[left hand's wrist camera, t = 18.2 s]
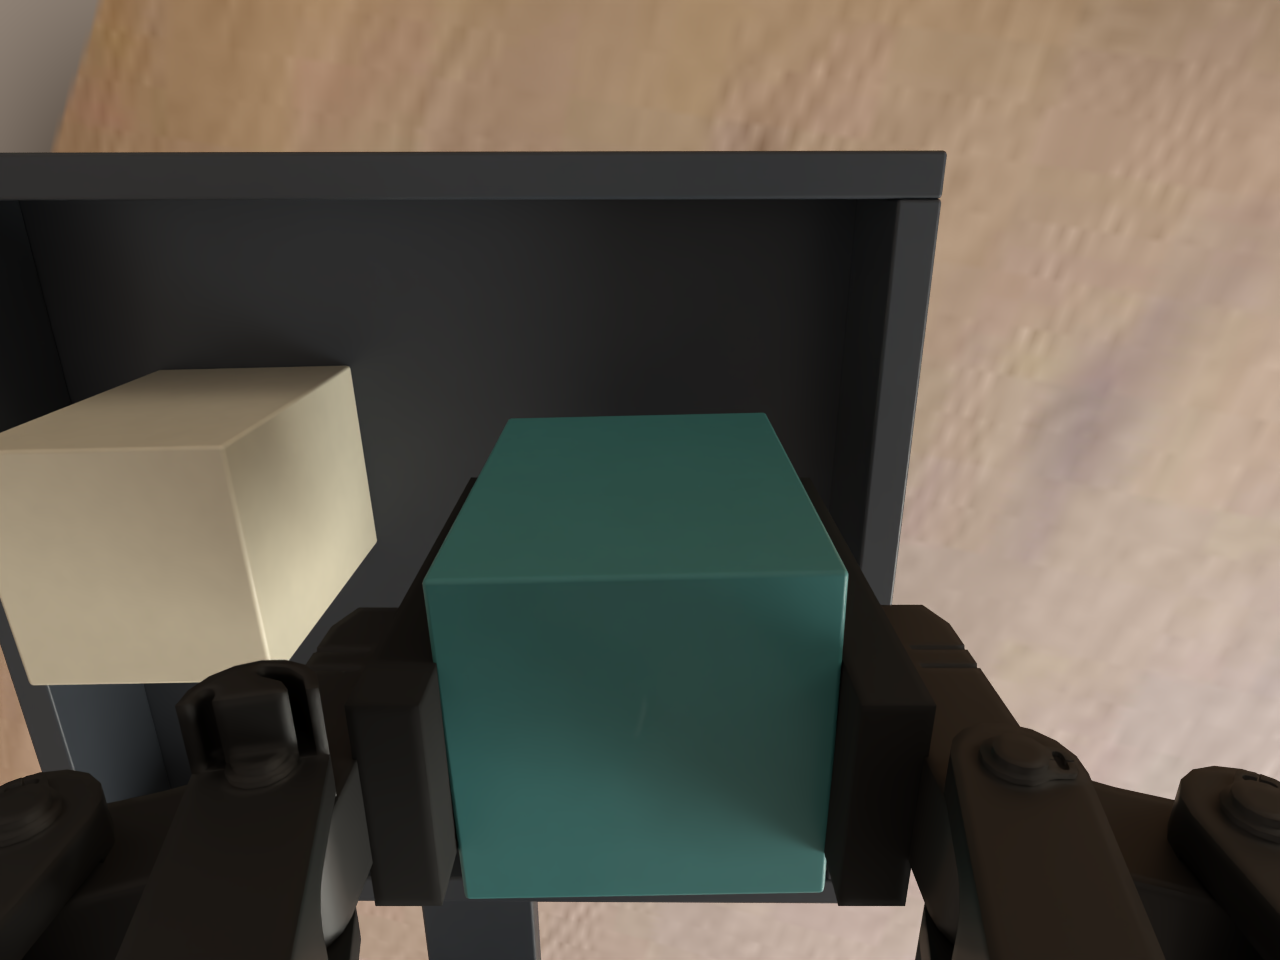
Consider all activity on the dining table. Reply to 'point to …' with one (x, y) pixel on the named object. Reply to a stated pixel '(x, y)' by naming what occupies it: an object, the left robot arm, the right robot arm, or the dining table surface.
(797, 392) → the tray
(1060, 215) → the dining table surface
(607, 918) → the dining table surface
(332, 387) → the cream block
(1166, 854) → the left robot arm
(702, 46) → the dining table surface
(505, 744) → the teal block
